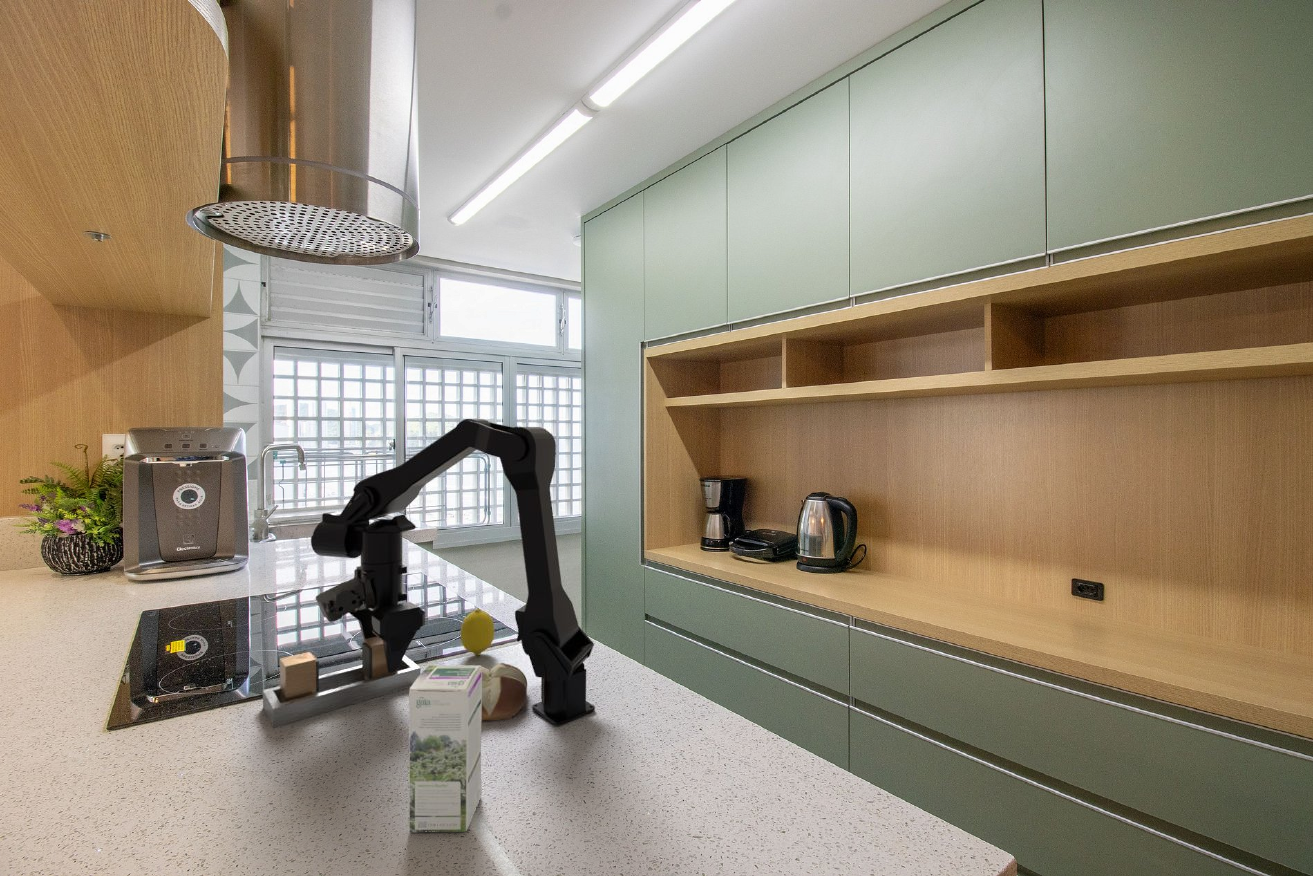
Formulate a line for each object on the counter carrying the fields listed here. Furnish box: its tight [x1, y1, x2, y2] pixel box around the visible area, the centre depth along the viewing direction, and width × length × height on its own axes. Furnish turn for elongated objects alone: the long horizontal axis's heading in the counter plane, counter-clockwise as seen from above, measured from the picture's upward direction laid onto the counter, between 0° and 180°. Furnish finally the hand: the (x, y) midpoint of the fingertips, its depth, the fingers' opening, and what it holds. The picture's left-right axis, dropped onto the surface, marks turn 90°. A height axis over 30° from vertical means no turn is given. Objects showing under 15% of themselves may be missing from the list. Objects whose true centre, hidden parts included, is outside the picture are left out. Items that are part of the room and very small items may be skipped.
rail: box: [262, 651, 421, 728], centre depth 84 cm, size 7×19×7 cm, turn 133°
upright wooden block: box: [361, 636, 398, 680], centre depth 87 cm, size 4×4×6 cm
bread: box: [481, 662, 528, 722], centre depth 82 cm, size 11×11×5 cm
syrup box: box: [408, 665, 483, 833], centre depth 58 cm, size 6×6×14 cm
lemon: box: [460, 608, 495, 656], centre depth 99 cm, size 6×6×8 cm
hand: (381, 662), depth 87 cm, fingers open, 9 cm apart
